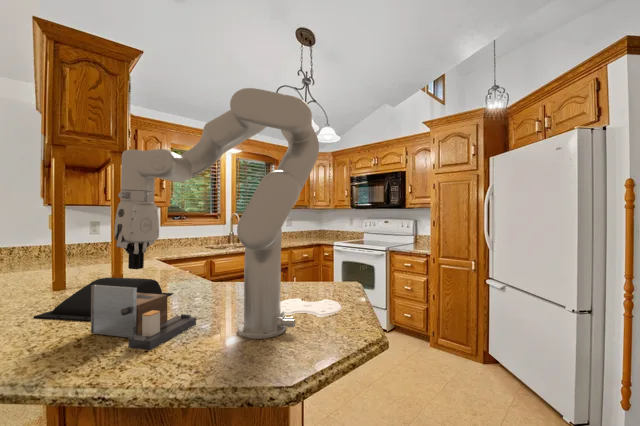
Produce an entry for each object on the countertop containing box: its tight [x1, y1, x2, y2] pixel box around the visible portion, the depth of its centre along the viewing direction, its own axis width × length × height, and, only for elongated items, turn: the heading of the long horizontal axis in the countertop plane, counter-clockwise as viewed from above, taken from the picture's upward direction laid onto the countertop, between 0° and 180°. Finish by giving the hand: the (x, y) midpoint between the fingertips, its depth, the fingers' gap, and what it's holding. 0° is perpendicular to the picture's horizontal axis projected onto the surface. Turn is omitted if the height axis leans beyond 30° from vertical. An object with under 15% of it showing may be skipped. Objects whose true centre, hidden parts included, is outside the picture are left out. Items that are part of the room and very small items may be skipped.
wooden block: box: [136, 293, 168, 335], centre depth 79 cm, size 13×10×8 cm
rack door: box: [90, 285, 137, 339], centre depth 73 cm, size 13×2×12 cm, turn 77°
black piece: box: [33, 276, 174, 323], centre depth 100 cm, size 24×8×30 cm
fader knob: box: [142, 310, 160, 337], centre depth 70 cm, size 2×3×5 cm
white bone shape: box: [281, 297, 342, 317], centre depth 97 cm, size 20×2×25 cm
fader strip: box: [127, 313, 197, 351], centre depth 75 cm, size 6×16×3 cm, turn 167°
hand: (135, 268), depth 77 cm, fingers closed
